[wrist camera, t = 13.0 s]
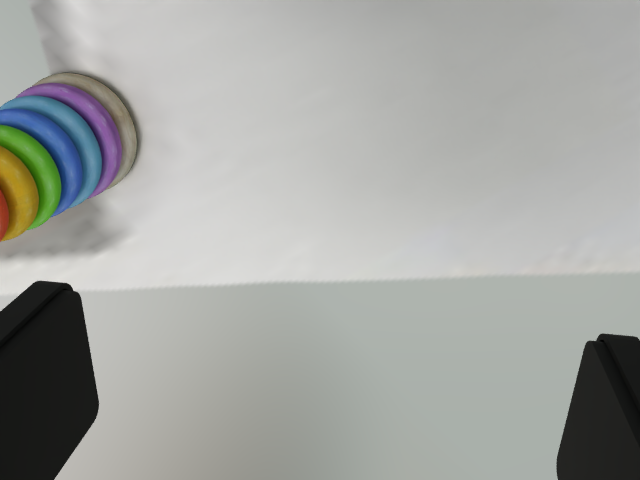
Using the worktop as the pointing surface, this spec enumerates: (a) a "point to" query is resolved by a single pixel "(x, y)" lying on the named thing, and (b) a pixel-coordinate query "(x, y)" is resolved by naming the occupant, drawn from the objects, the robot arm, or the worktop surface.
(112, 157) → the stacking toy
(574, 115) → the worktop surface
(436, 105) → the worktop surface
